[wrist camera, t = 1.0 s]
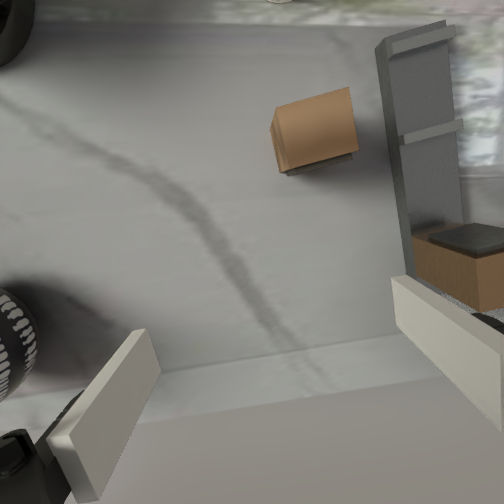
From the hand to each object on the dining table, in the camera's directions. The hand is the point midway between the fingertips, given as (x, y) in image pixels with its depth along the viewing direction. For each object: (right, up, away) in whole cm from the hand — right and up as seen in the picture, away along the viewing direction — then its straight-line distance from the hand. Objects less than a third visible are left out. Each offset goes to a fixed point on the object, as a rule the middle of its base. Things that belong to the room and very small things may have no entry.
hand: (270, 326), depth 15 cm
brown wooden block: (+5, +16, +18) cm, 25 cm away
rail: (+19, +13, +19) cm, 30 cm away
